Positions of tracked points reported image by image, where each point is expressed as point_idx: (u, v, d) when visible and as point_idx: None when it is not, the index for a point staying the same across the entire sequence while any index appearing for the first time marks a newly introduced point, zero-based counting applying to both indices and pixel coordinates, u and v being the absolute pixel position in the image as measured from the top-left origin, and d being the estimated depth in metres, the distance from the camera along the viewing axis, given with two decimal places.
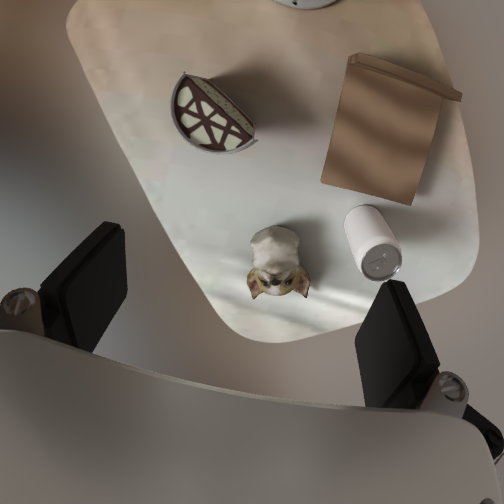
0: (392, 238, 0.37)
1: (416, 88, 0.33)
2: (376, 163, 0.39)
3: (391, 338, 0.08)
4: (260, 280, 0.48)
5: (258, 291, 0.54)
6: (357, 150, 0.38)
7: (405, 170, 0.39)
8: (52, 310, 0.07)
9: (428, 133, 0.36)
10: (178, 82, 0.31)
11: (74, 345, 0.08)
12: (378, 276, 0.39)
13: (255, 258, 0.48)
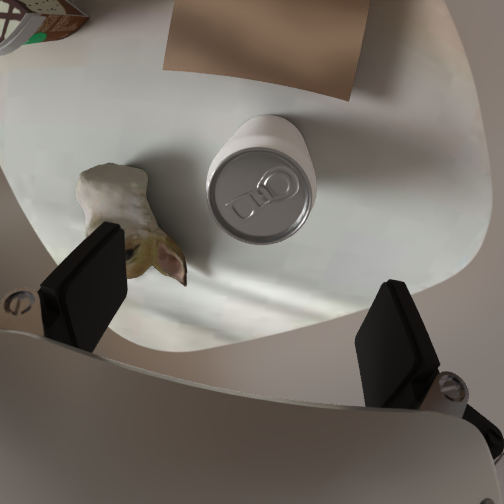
0: (286, 141, 0.16)
1: None
2: (262, 22, 0.18)
3: (391, 338, 0.08)
4: None
5: None
6: (222, 5, 0.17)
7: (326, 32, 0.18)
8: (52, 310, 0.07)
9: None
10: None
11: (74, 345, 0.08)
12: (260, 233, 0.18)
13: (85, 217, 0.27)
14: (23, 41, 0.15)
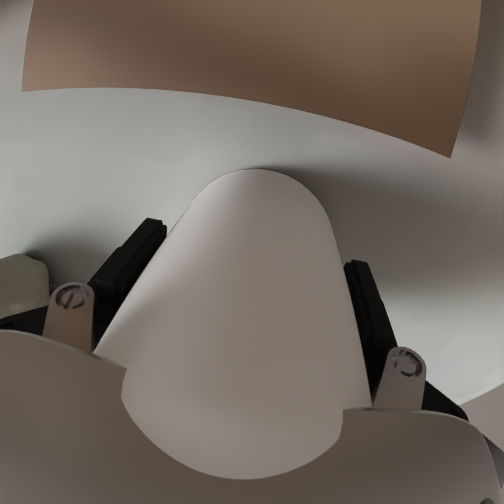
0: (297, 425, 0.03)
1: None
2: None
3: None
4: None
5: None
6: None
7: None
8: (104, 304, 0.08)
9: None
10: None
11: None
12: None
13: None
14: None
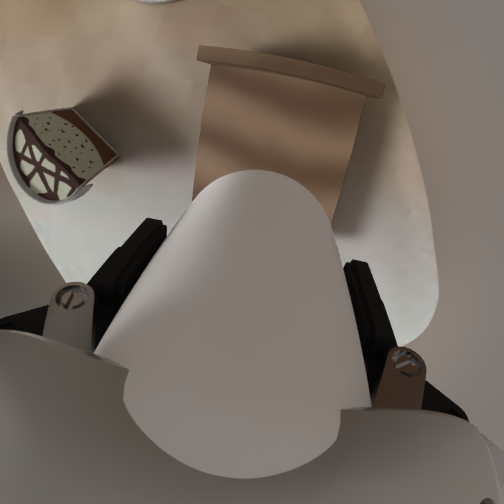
0: (296, 428, 0.03)
1: (319, 85, 0.24)
2: None
3: None
4: None
5: None
6: None
7: None
8: (104, 304, 0.08)
9: (342, 151, 0.27)
10: (11, 126, 0.22)
11: None
12: None
13: None
14: None
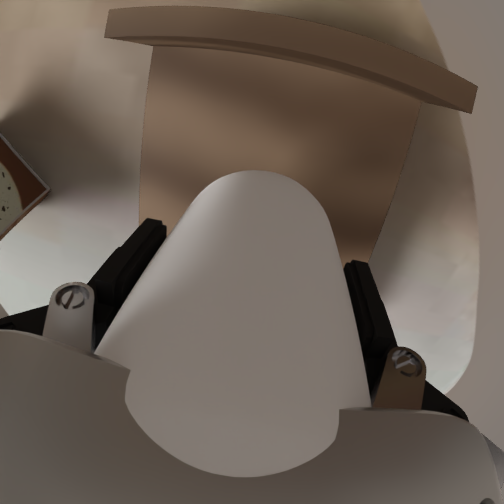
0: (296, 429, 0.03)
1: (343, 78, 0.13)
2: None
3: None
4: None
5: None
6: None
7: None
8: (104, 304, 0.08)
9: (378, 195, 0.16)
10: None
11: None
12: None
13: None
14: None
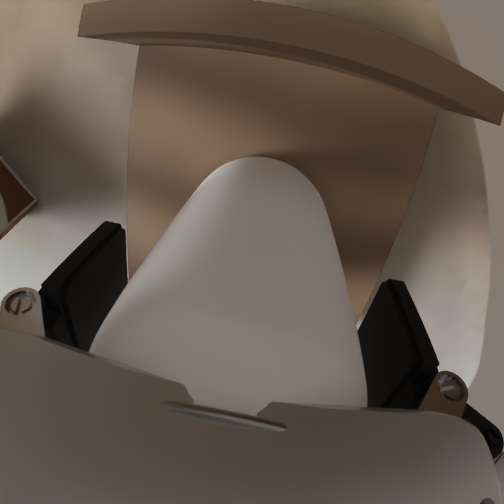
0: (292, 332, 0.05)
1: (353, 80, 0.11)
2: None
3: (390, 338, 0.08)
4: None
5: None
6: None
7: None
8: (53, 310, 0.07)
9: (389, 211, 0.14)
10: None
11: (75, 345, 0.08)
12: None
13: None
14: None
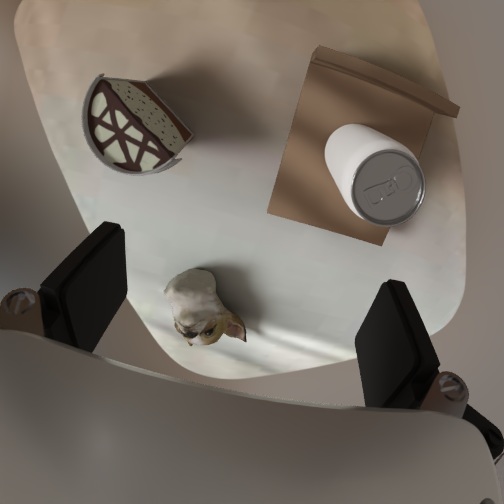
0: (407, 148, 0.19)
1: (399, 97, 0.26)
2: (339, 192, 0.32)
3: (391, 338, 0.08)
4: (180, 331, 0.42)
5: None
6: (315, 174, 0.32)
7: None
8: (52, 310, 0.07)
9: None
10: (91, 87, 0.23)
11: (74, 345, 0.08)
12: (382, 217, 0.21)
13: (172, 307, 0.42)
14: (158, 172, 0.29)
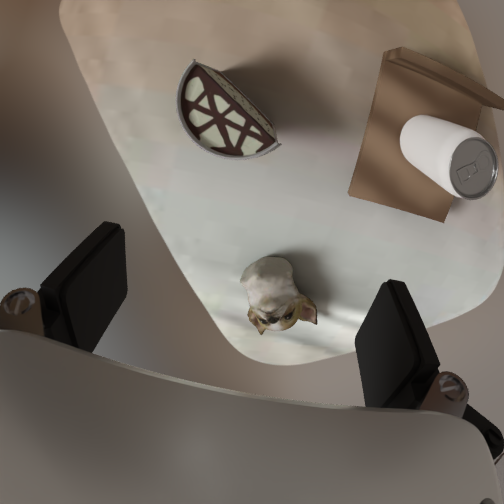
0: (482, 136, 0.20)
1: (456, 92, 0.27)
2: (411, 175, 0.33)
3: (391, 338, 0.08)
4: (258, 318, 0.43)
5: None
6: (391, 159, 0.33)
7: None
8: (52, 310, 0.07)
9: None
10: (187, 71, 0.25)
11: (74, 345, 0.08)
12: (469, 192, 0.22)
13: (249, 296, 0.44)
14: None
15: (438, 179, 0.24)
